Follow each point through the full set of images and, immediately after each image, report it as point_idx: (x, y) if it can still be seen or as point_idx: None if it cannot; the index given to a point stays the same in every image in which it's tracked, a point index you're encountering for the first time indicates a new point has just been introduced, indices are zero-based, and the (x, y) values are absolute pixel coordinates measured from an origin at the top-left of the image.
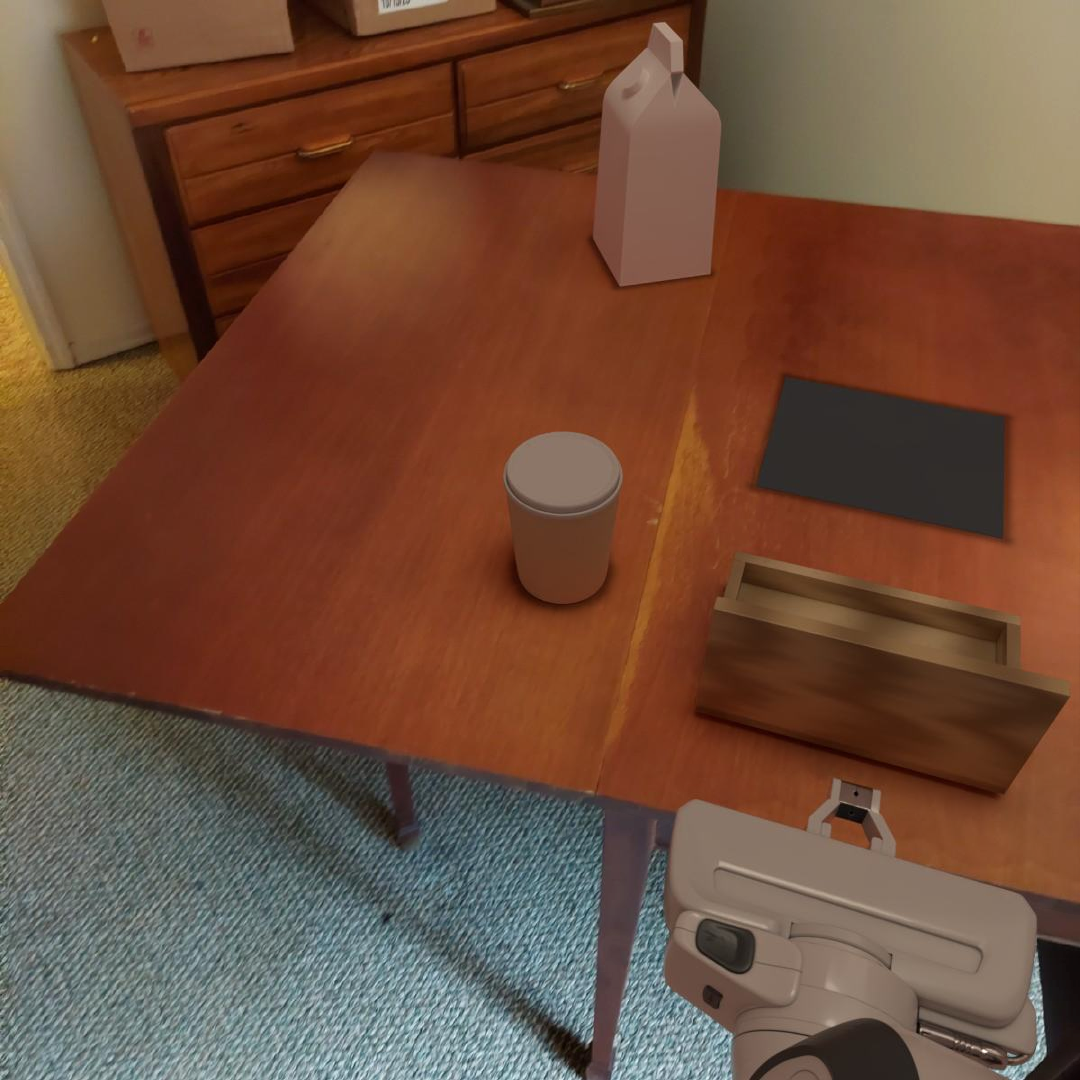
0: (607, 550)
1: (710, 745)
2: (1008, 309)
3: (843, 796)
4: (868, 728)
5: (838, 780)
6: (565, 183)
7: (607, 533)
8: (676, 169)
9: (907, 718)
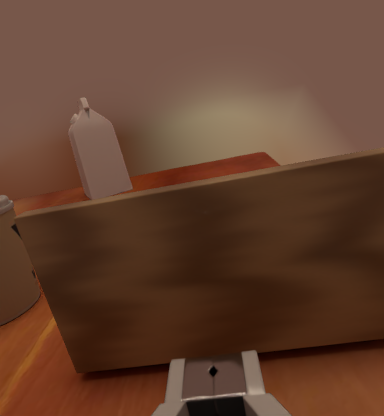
0: (17, 270)
1: (92, 407)
2: (251, 165)
3: (189, 386)
4: (237, 311)
5: (179, 360)
6: (79, 188)
7: (6, 251)
8: (100, 145)
9: (266, 276)
